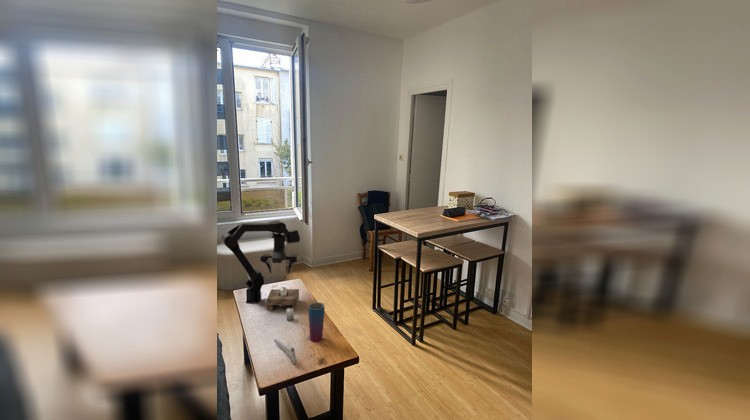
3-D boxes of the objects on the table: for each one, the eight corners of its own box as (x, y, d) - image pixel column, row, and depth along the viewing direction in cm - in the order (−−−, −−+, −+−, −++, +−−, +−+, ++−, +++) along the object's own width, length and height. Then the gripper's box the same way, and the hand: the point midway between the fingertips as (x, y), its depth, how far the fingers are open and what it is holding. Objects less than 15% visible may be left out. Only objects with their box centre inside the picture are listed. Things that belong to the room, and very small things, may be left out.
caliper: (295, 365, 138) (295, 349, 137) (293, 366, 138) (293, 350, 136) (275, 340, 154) (275, 326, 153) (273, 341, 154) (273, 327, 153)
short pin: (286, 321, 170) (286, 310, 169) (287, 317, 174) (286, 307, 173) (293, 320, 171) (293, 310, 170) (293, 317, 174) (293, 307, 173)
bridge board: (267, 310, 180) (266, 299, 179) (271, 300, 191) (271, 289, 190) (296, 310, 181) (296, 298, 180) (298, 300, 193) (298, 289, 192)
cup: (306, 336, 158) (306, 303, 155) (322, 333, 160) (322, 301, 158) (310, 344, 151) (310, 310, 149) (326, 341, 154) (326, 308, 151)
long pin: (279, 306, 184) (279, 289, 183) (280, 304, 188) (280, 287, 186) (286, 306, 185) (286, 289, 183) (287, 303, 188) (287, 287, 186)
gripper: (257, 249, 185) (258, 278, 188) (295, 249, 186) (295, 279, 189) (262, 243, 196) (263, 271, 199) (298, 243, 197) (298, 271, 200)
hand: (279, 273), depth 196 cm, fingers open, 9 cm apart
